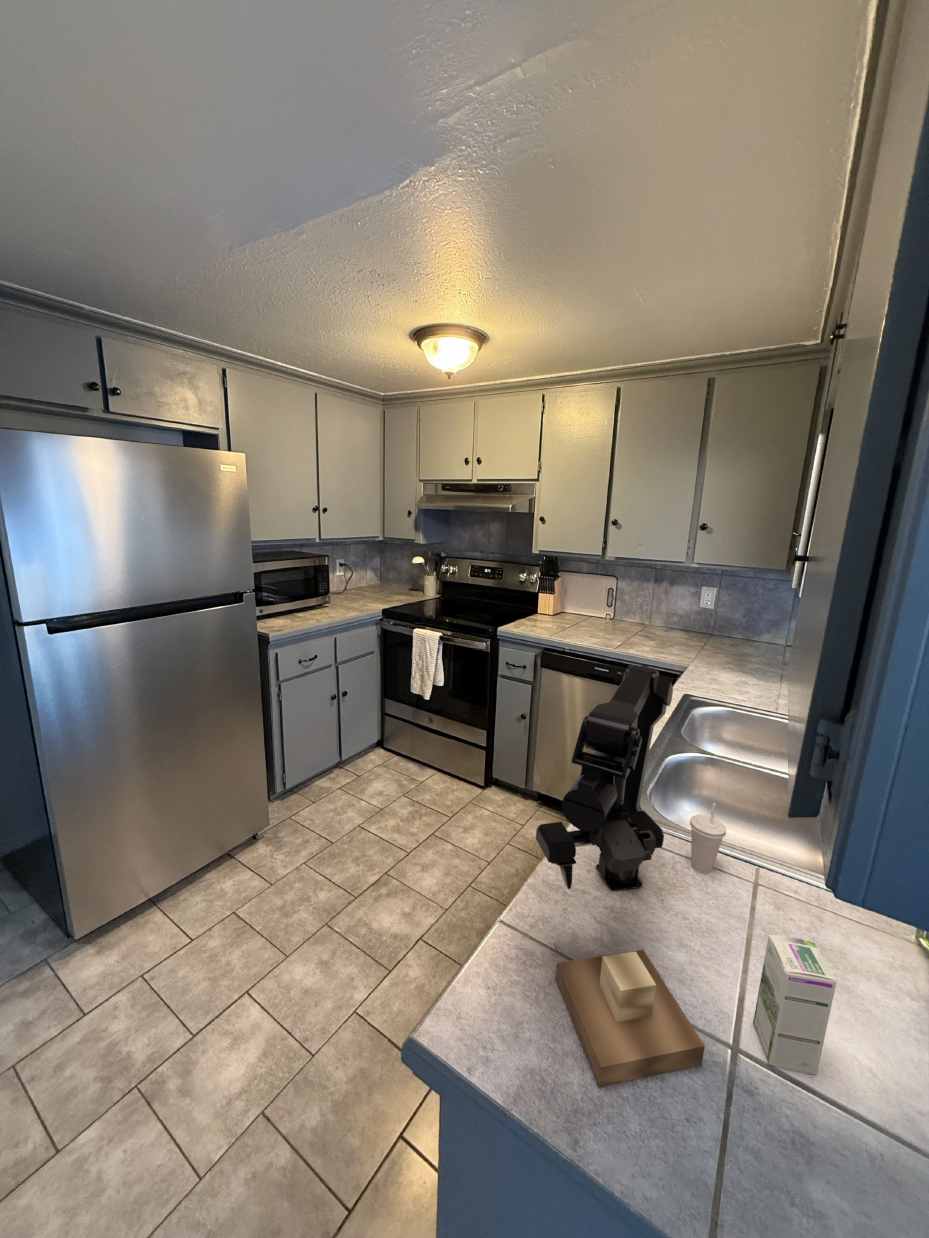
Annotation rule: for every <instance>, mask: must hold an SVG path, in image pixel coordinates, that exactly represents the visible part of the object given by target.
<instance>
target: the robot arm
mask: <svg viewBox="0 0 929 1238" xmlns="http://www.w3.org/2000/svg"><path fill="white" fill-rule="evenodd" d="M673 687H674V686H673V684H672V681H671V680H669V679H667V678H666V677H664V676H663V675H661V674H660V673H659V670H656V669H655V668H653V667H648V666H641V665H637V664H632V665H627V667H626V670H625V671H624V674H623V676H622V681H621V682H620V683H619V686H618V687H617V689H616V691H615V692H614V694H613V695H612V696H611V698H610V700H609V701H608V702H604V703H599V704H597V705H596V706H594V708H593V709H591V711H590V712H589V713H588V715H585V716H584V718H583V720H582V722H581V726H580V729H579V732H578V736H577V740H576V744H575V746H574V751H573V754H572V758H571V763H572V764H575V765H577V766H581V771H580V775H579V776H578V778H577V779H576V780H575V782H573V784H572V786H571V787H570V788H569V790H568V791H566V793H565V795H564V796H563V798H562V800H561V810H562V812H563V813H562V814H563V815H564V817H565V819H566V820H567V821H568V822H569V824H571V825H572V826H573V827H574V828H576V829H577V830H568V829H567V828H566V827H565V825H564V823H563V822H562V821H555V822H549V823H548V822H547V823H541V824H539V825H538V826H537V827H536V831H535V840H536V842H537V844H538V845H539V847H540V849H541V851H542V853H543V854H544V856H545V858H546V859H547V862H548V863H550V864H553V865H556V866H558V867H559V869H560V873H561V875H562V879H563V882H564V884H565V886H566V888H567V889H568V890H571V888H572V885H573V865H576V864H577V861H576V860H575V857H576V856H577V854H576V853H577V849H576V848H579V847H584V846H596V847H597V848H598V849H599V851H600V854H599V858H598V859H599V860H598V864H596V865H595V869H596V870H597V872H598V873H599V875H600V877H601V878H602V880H603V881H604V882H605V884H606V885H607V888H609V890H610V891H613V892H614V891H620V890H621V891H622V890H628V889H637V888H643V882H642V880H640V877H639V873H640V865H642V864H643V863H644V862H646V861H652V856H654V855H653V854H654V852H655V851H656V849H660V848H663V845H664V839H665V834H664V830H663V829H662V828H661V826H660V825H659V824H657V823H656V822H655V820H654V819H653V818H652V817H651V816H650V815H649V814H648V813H647V812H646V811H645V810H643V809H642V806H641V799H642V794H643V793H642V792H643V788H644V787H643V786H644V782H645V781H644V780H645V775H646V770H647V765H648V759H649V756H650V755H649V754H650V749H651V744H652V738H653V732H654V727H655V725H656V724H658V722H659V721H660V720H661V719H662V718H663V717H664V716H665V715H666V711H667V708H668V707H670V706H671V703H672V700H673V693H674V688H673ZM584 749H587V750H592V751H595V753H590V752H586V751H584Z"/></svg>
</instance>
